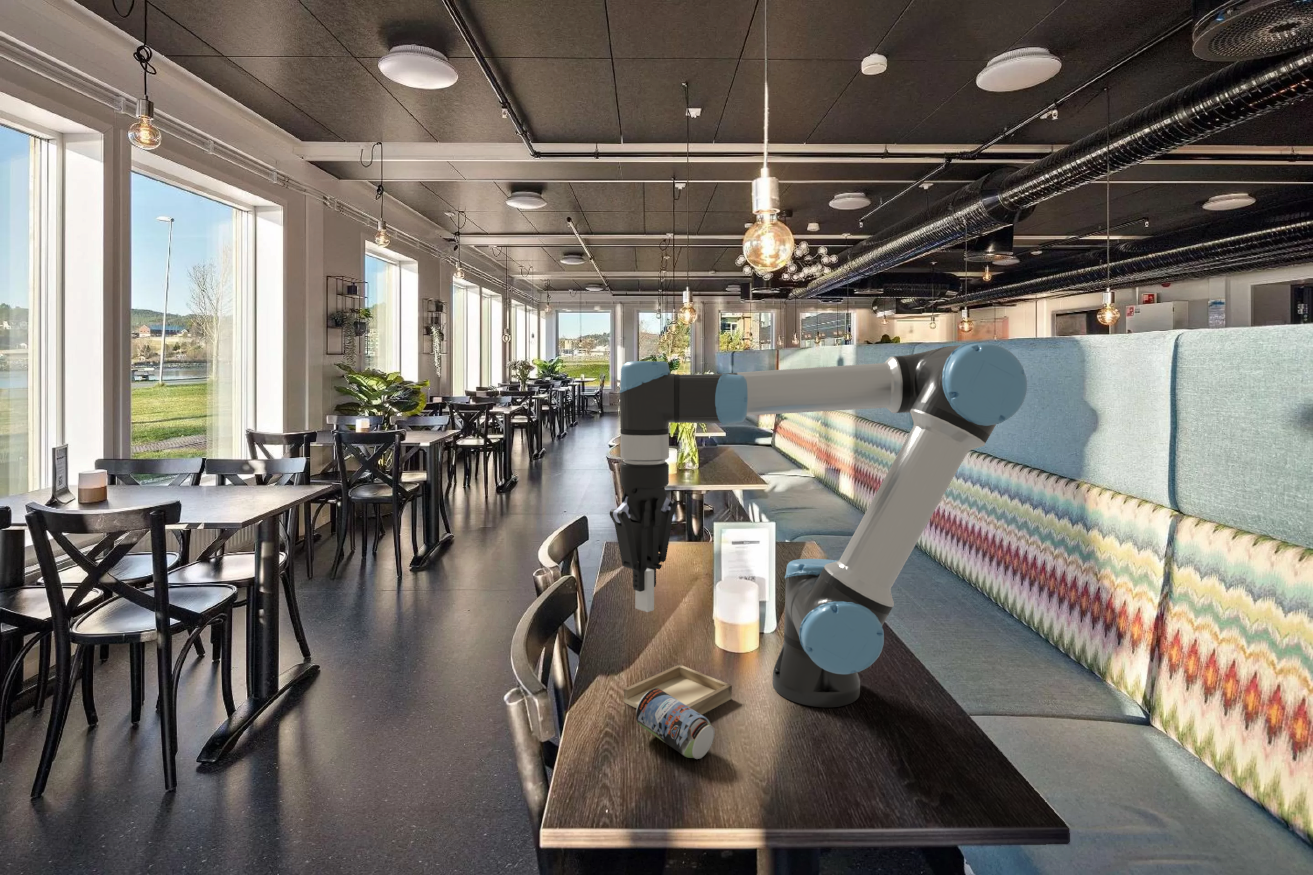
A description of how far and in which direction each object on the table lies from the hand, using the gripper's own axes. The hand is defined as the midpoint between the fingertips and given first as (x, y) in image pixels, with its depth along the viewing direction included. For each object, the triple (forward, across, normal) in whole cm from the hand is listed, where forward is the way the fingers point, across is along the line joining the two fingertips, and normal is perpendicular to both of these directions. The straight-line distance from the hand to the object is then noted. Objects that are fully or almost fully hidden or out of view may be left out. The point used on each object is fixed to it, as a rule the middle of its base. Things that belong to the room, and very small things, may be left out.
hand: (644, 608), depth 109 cm
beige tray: (+18, -8, 0) cm, 20 cm away
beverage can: (+15, +3, +3) cm, 15 cm away
